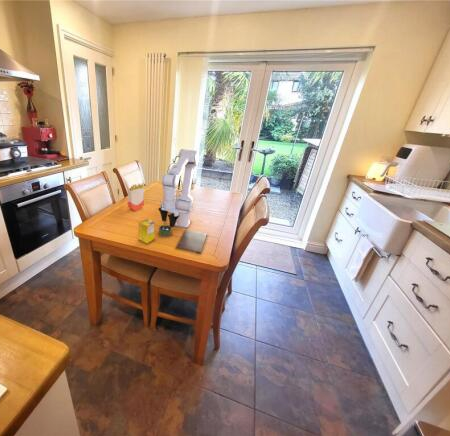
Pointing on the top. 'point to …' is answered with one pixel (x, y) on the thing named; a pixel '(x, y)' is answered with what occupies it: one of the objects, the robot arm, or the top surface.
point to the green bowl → (165, 233)
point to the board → (192, 241)
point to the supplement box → (146, 231)
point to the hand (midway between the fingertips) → (168, 223)
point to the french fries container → (136, 197)
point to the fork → (165, 225)
